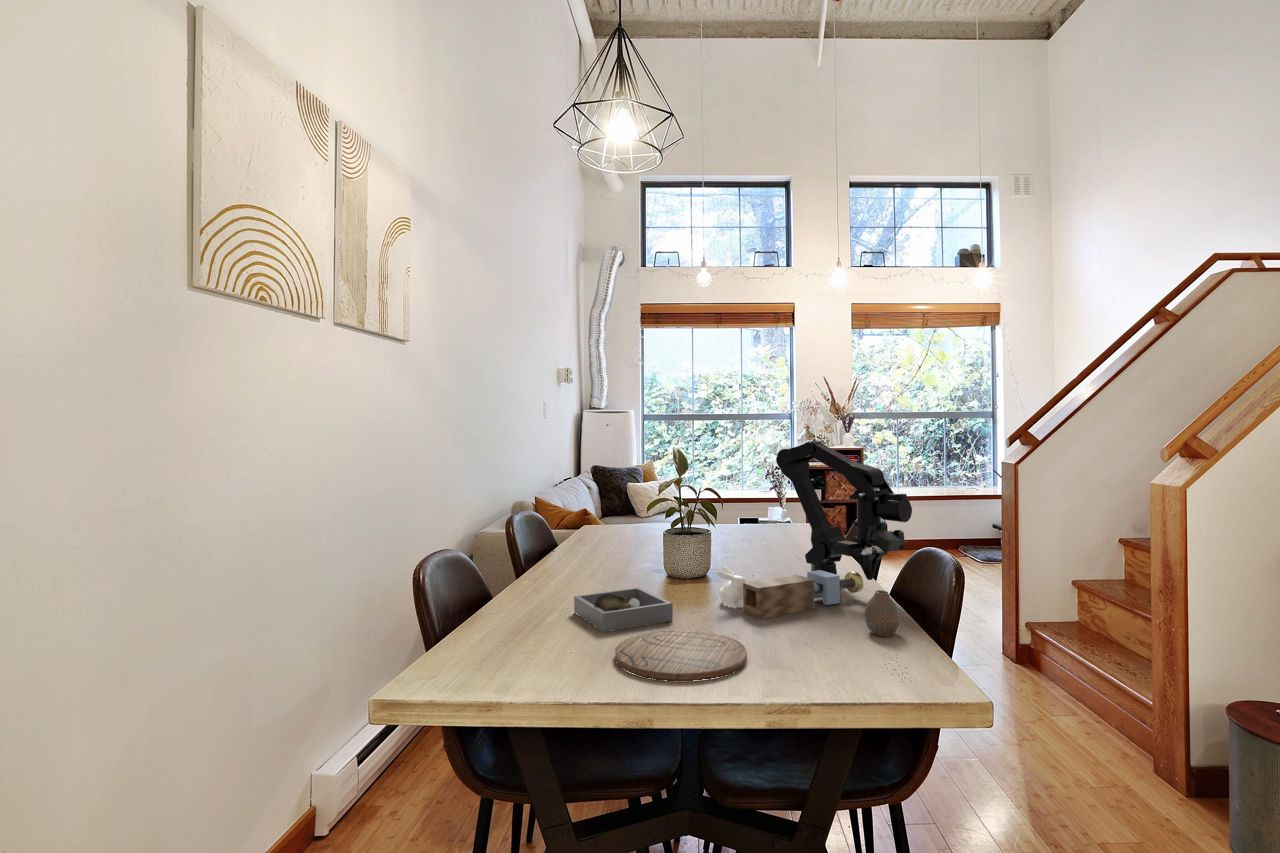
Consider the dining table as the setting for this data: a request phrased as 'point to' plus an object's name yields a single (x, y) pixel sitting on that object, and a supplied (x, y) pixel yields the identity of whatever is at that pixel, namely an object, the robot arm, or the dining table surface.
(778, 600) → the block
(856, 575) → the shaft
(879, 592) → the vase
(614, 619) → the tray rim
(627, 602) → the eagle figurine
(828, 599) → the spacer
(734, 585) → the rabbit figurine
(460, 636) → the dining table surface
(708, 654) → the trivet
